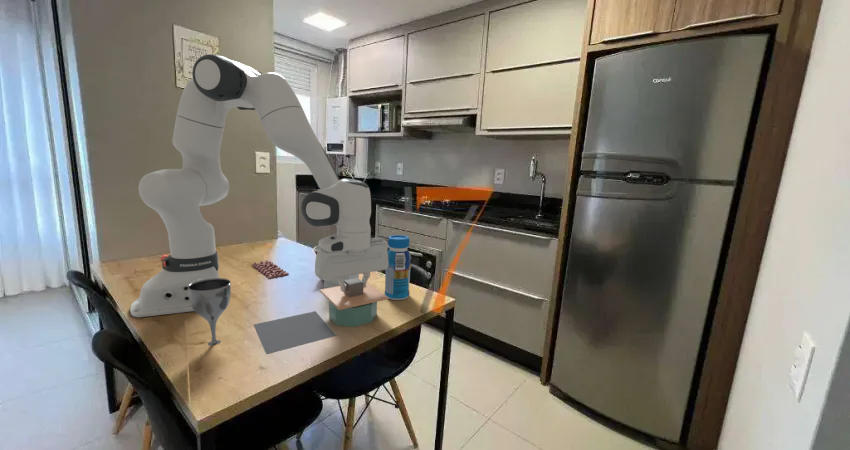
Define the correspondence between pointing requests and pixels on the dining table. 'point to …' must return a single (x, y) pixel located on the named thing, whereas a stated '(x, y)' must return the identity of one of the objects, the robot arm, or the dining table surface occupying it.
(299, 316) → the mat
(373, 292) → the cover
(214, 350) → the dining table surface
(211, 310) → the wine glass
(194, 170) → the robot arm
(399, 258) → the beverage bottle
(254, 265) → the chocolate bar
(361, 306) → the bowl
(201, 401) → the dining table surface
